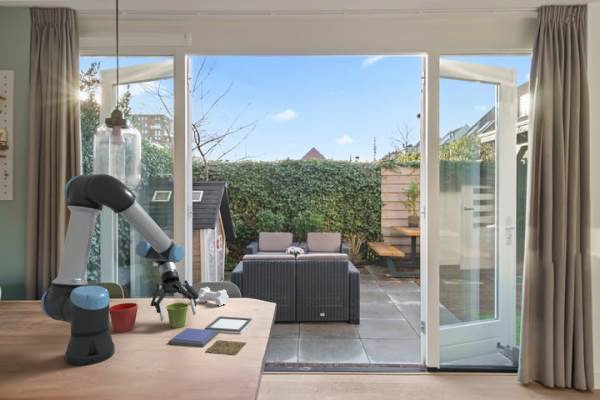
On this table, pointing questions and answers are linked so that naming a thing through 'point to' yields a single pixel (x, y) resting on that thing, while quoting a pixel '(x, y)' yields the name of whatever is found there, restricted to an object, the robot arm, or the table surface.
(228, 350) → the brown square mat
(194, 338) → the ink pad
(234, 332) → the marked board
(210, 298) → the bone shaped toy
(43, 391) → the table surface
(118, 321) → the flower pot
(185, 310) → the plant pot
